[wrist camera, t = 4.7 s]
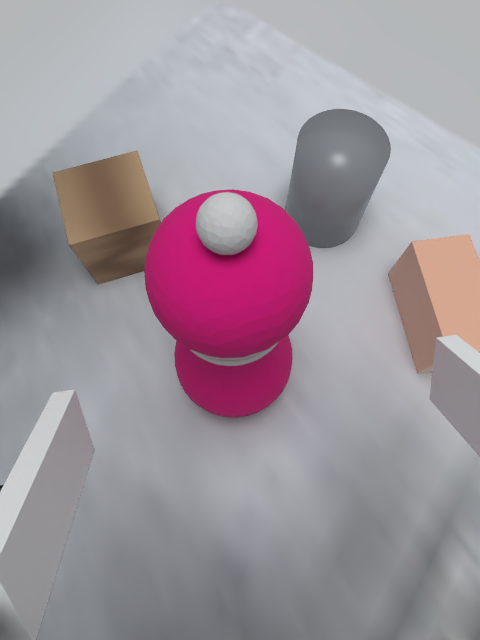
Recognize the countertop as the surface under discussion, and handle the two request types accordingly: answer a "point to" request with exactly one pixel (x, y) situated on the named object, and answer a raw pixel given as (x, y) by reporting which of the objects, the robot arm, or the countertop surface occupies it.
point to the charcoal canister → (335, 174)
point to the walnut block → (108, 215)
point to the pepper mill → (230, 296)
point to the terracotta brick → (438, 294)
